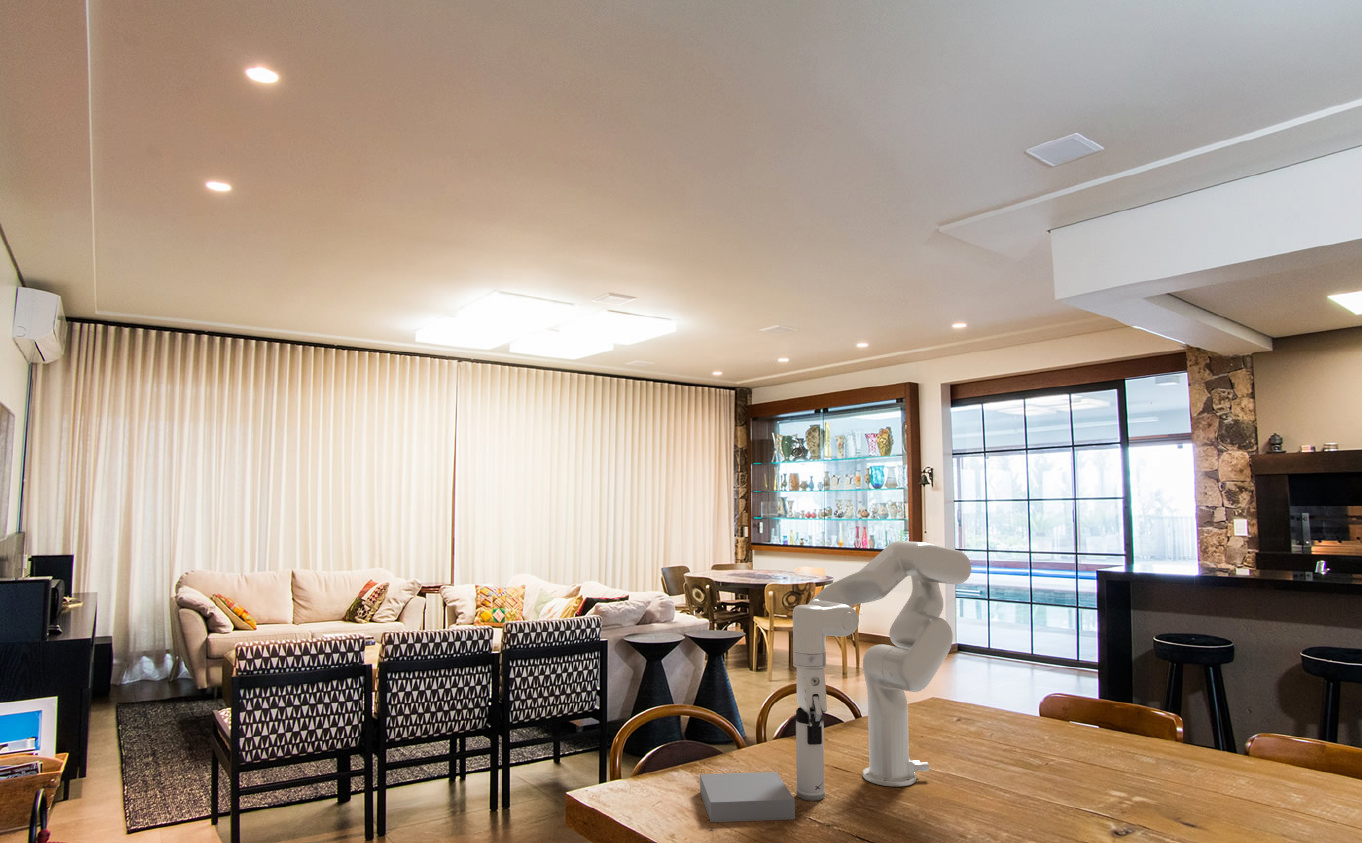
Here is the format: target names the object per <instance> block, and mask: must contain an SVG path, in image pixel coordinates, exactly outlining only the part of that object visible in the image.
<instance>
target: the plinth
mask: <svg viewBox="0 0 1362 843" xmlns="http://www.w3.org/2000/svg"><path fill="white" fill-rule="evenodd" d="M699 793H700V797H701V798H702V801H703V804H704V807H705V811H706V813H707V815H708V819H709V821H710V823H726V822H727V823H729V822H731V823H733V822H753V821H754V822H756V821H782V820H787V821H788V820H796V799H795V797H794V796H793V794H792V793H791V792H790V790H789V788H788V787H787V786H786V784H785V783H784V781H783V779H782V778H781V777H780V775H779V774H778V772H777V771H766V772H765V771H764V772H763V771H761V772H759V771H757V772H729V773H728V772H727V773H702V774H701V773H699Z"/></svg>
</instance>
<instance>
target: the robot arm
mask: <svg viewBox="0 0 1362 843" xmlns="http://www.w3.org/2000/svg"><path fill="white" fill-rule="evenodd" d="M971 573H972V563H971V560H970V559H969V557H968V556H967V555H966V554H965V553H964V552H962V551H960V550H958V549H953V548H948V547H944V546H940V545H937V544H932V543H928V542H923V541H921V542H920V541H907V540H906V541H905V540H901V541H900V540H899V541H893V542H891V543H889V545H887V546H886V547H885V548H884V549H883V550H881V552H879V553H878V554H877V555H876V556H874V558H873V559H871V560H870V561H869V562H868V563H867V564H865V566H863V568H861V569H860V570H859V571H856V572H855V573H854V572H853V573H852V574H849V575H848V576H845V577H843V578H841V579H839V580H837V581H835V582H833V583H831V584H828V585H827V586H826V587H825V588H823V589H822V590H820V592H818V593H817V594H816V595H815V596H814V597H813V598H811V599H810V601H809V602H808V603H807V604H798V605H795V607H793V611H792V658H793V659H792V662H793V663H792V666H793V667H794V668H796V702H797V705H798V706H799V707H801V708H802V709H803V710H804V711H805V712H807V714H808V723H809V726H807V743H808V744H809V745H817V744H822V722H821V720H822V718H821V716H822V712H823V714H826V713H827V711H828V704H827V701H828V700H827V687H826V676H825V670H824V669H825V668H826V667H827V654H826V653H827V652H826V651H827V649H826V648H827V647H826V646H827V645H826V644H827V643H826V642H827V641H826V640H827V638H826V637H828V636H831V637H839V638H840V637H841V638H842V637H847V636H850V635H852V634H854V632H856V630H857V629H858V627H859V622H860V620H859V619H860V618H859V615H858V612H857V611H856V610H855V608H853V607H852V606H855V605H860V604H867V603H873V602H876V601H879V600H882V599H884V598H885V597H886V596H887V595H888V594H889V593H890V592H891V591H893V590H894V589H895V588H896V587H897V586H898V585H899V584H900V583H901V582H902V581H904V579H905V578H906V577H909V576H910V577H911V583H912V586H911V587H912V589H911V594H910V596H909V598H908V600H907V601H906V603H905V604H904V606H903V607H902V609H901V610H900V611H899V613H898V615H897V616H896V618H895V619H894V620H893V622H892V624H891V626H890V628H889V633H888V635H889V639H890V641H891V643H892V644H893V645H889V644H883V643H882V644H876V645H872V646H870V647H869V648H868V649H867V650H866V651H865V652H864V655H863V659H862V671H863V676H864V680H865V685H866V693H867V722H868V726H867V727H868V729H867V730H868V763H869V764H868V767H865V768H863V770H862V777H863V778H864V779H865V781H868V782H869V783H871V784H876V785H880V786H885V787H905V786H906V787H907V786H911V785H913V784H915V783H916V782H917V774H916V773H917V772H929V771H930V764H929V763H928V762H927V761H926V762H920V760H912V759H911V758H910V746H909V744H910V742H909V708H908V706H909V704H908V699H907V695H906V693H905V691H906V692H909V693H910V692H911V693H918V692H921V691H923V690H925V689H926V688H927V687H928V686H929V684H930V683H931V682H932V681H933V679H934V677H935V675H936V674H937V672H938V671H939V669H940V668H941V666H942V664H943V662H944V661H945V659H946V658H947V656H948V655H949V653H950V651H951V648H952V645H953V636H954V635H953V631H952V627H951V626H950V624H949V622H948V621H947V620H945V619H944V618H942V617H940V616H941V614H942V613H943V608H944V599H943V595H942V592H941V591H942V590H941V588H940V584H947V585H961V584H964V583H965V582H966V581H967V580H968V579H969V578H970V575H971ZM939 583H940V584H939ZM894 645H895V646H894ZM810 709H814V711H812V712H810ZM821 710H822V712H821ZM811 715H814V716H813V717H812V719H811Z"/></svg>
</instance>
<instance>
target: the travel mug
mask: <svg viewBox="0 0 1362 843" xmlns="http://www.w3.org/2000/svg"><path fill="white" fill-rule="evenodd" d="M812 711H814V709H810V712H812ZM821 712H822V710H821ZM795 716H796V718H795V737H796V738H795V739H796V740H795V746H796V747H795V748H796V750H795V751H796V752H795V754H796V758H795V759H796V796H797V797H798V798H799V799H801V800H802V801H803V800H804V801H812V802H815V801H822V800H823V799H824V798H825V748H824V747H825V737H824V736H825V735H824V734H825V732H824V729H825V728H824V713H823V712H822V716H821V718H822V720H821V722H822V744H817V745H809V744H808V743H807V726H809V723H808V714H807V712H805V711H804V710H803V709H802V708H801V707H800V706H799V707H798V708H797V709H796V710H795ZM813 716H814V715H811V719H812V717H813Z"/></svg>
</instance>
